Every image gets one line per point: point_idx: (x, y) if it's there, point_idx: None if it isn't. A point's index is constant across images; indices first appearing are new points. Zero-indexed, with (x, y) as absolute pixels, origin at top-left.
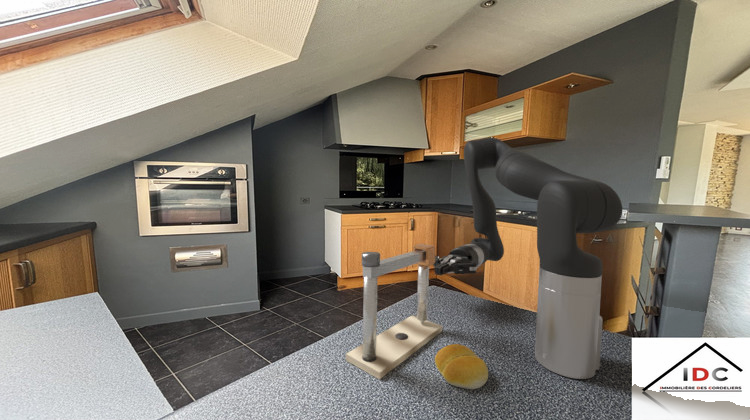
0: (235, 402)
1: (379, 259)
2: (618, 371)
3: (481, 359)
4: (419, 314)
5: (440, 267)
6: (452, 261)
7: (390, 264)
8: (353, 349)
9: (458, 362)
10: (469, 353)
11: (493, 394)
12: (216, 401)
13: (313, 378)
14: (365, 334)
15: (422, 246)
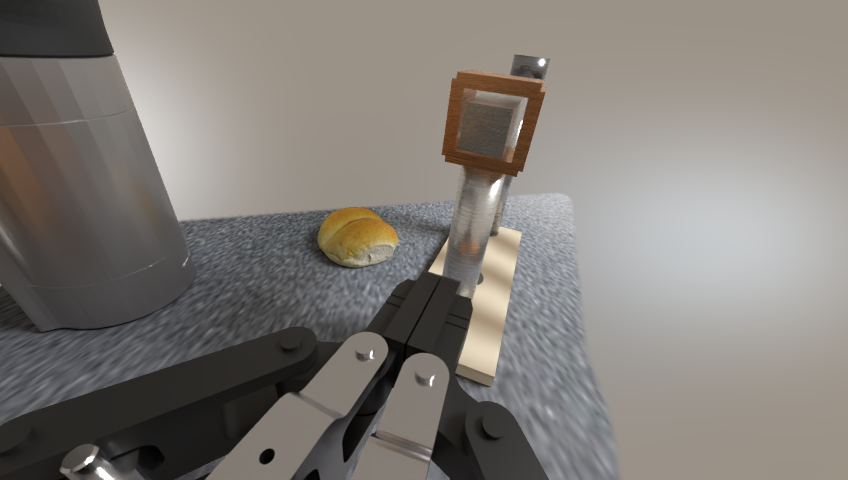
0: (554, 198)
1: (512, 65)
2: None
3: (325, 228)
4: None
5: (427, 272)
6: (322, 408)
7: None
8: (519, 239)
9: (364, 209)
10: (343, 228)
11: None
12: (567, 198)
13: (525, 218)
14: None
15: (500, 74)
